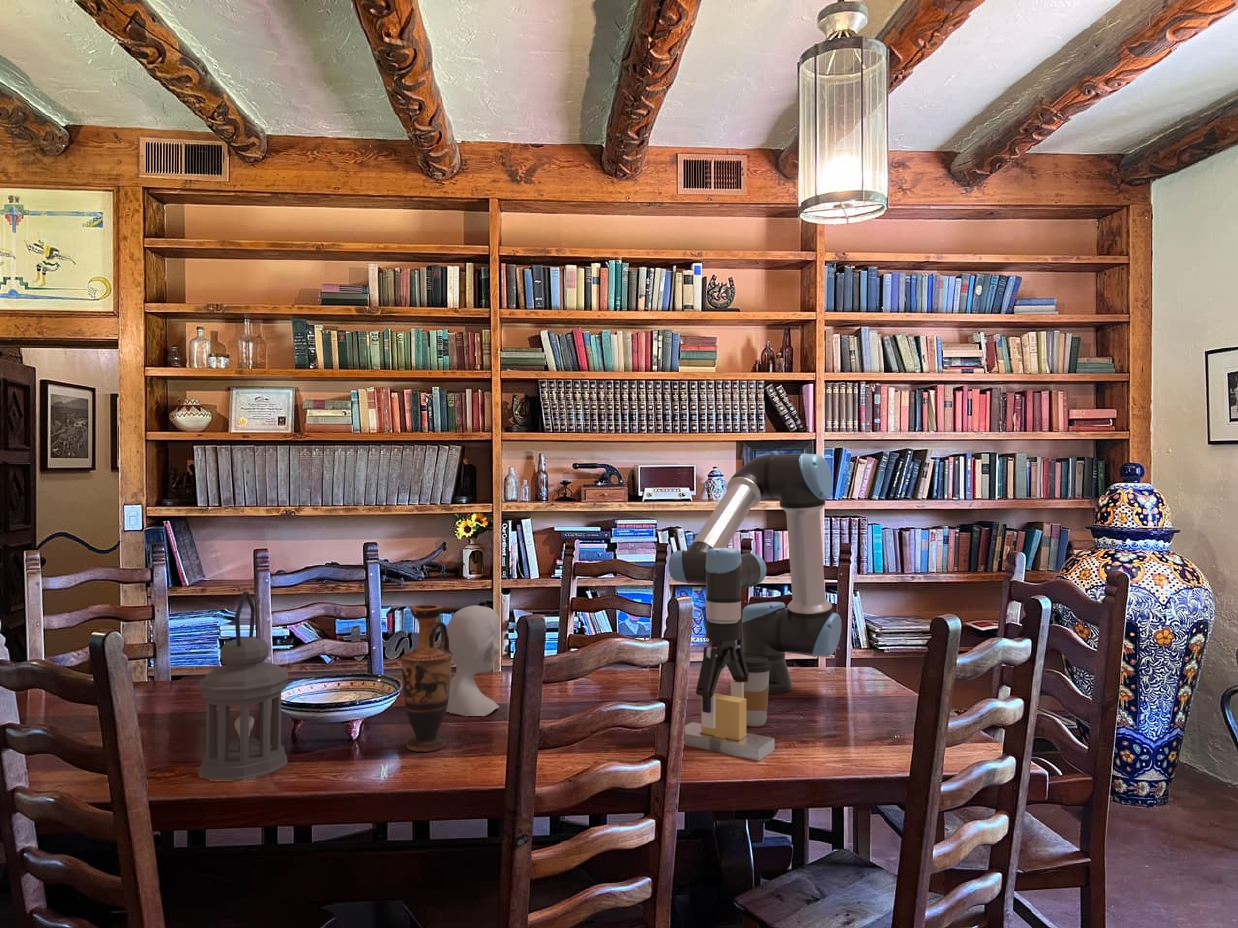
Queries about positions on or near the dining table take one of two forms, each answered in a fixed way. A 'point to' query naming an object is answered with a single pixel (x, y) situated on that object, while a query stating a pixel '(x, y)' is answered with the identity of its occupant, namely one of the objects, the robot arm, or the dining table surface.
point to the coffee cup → (756, 690)
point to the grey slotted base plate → (730, 743)
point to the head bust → (472, 658)
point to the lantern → (243, 708)
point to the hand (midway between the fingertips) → (723, 719)
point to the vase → (427, 680)
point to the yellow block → (728, 718)
